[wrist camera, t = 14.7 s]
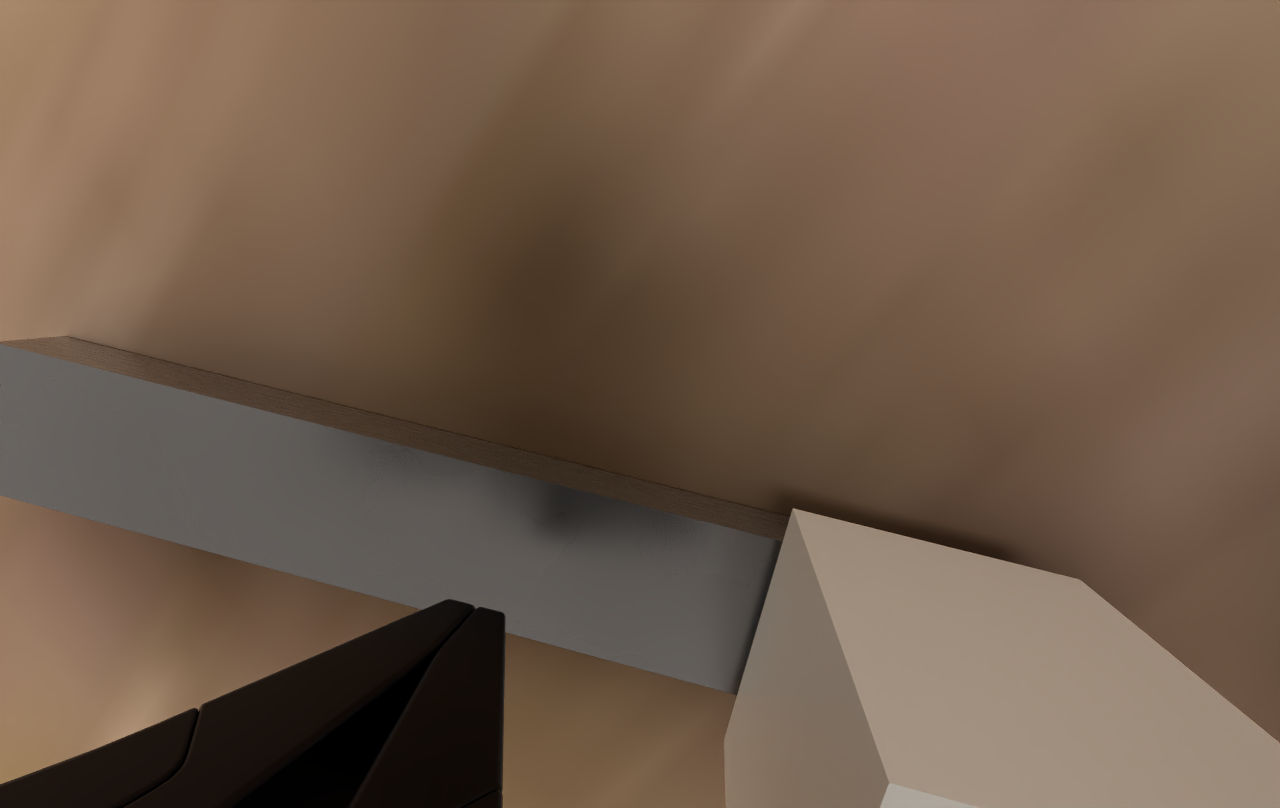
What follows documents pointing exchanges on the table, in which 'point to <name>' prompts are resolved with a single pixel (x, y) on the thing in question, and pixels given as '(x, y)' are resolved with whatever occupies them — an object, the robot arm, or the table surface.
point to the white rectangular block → (969, 691)
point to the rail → (388, 507)
